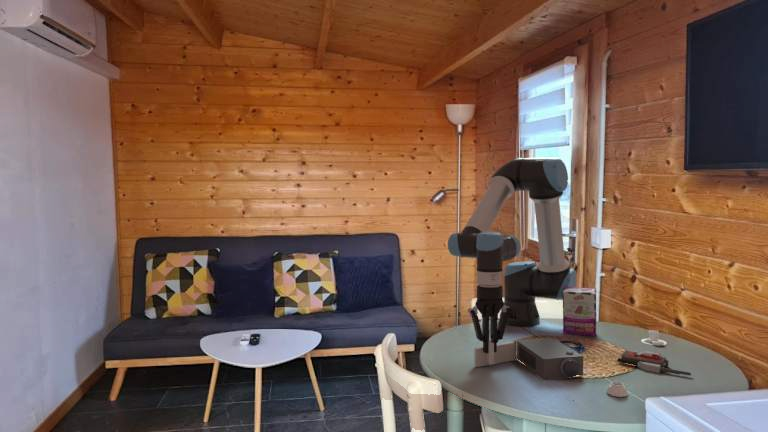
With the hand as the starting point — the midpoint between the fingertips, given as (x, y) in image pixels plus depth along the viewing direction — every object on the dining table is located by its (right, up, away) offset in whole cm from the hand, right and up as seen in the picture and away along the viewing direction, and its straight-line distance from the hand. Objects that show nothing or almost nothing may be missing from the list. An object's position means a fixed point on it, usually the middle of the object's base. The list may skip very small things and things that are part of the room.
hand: (489, 363), depth 169 cm
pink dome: (+29, -3, -21) cm, 36 cm away
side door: (+2, -1, +4) cm, 4 cm away
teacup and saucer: (+57, 0, +22) cm, 61 cm away
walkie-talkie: (+48, -2, -1) cm, 48 cm away
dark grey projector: (+17, -1, -1) cm, 17 cm away
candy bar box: (+39, +2, +35) cm, 52 cm away
